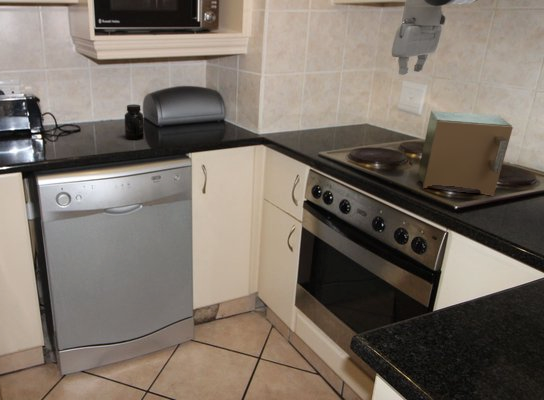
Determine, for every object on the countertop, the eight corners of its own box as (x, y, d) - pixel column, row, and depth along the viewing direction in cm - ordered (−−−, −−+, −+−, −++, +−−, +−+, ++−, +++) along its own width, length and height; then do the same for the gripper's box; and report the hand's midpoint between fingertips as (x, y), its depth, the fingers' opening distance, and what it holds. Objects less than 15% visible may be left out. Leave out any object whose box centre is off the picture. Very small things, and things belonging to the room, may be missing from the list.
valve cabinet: (492, 195, 127) (511, 125, 120) (422, 187, 132) (437, 119, 125) (481, 180, 138) (499, 115, 131) (417, 173, 143) (431, 110, 135)
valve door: (498, 203, 121) (519, 132, 114) (425, 195, 126) (441, 125, 119) (492, 195, 127) (511, 126, 120) (422, 187, 132) (437, 120, 125)
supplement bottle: (139, 134, 181) (139, 103, 176) (146, 139, 175) (145, 106, 170) (122, 136, 178) (121, 104, 173) (128, 141, 172) (127, 108, 168)
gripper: (416, 19, 115) (405, 77, 120) (448, 18, 128) (437, 71, 133) (390, 18, 119) (381, 74, 124) (424, 17, 132) (414, 68, 137)
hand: (410, 72), depth 129 cm, fingers open, 8 cm apart
